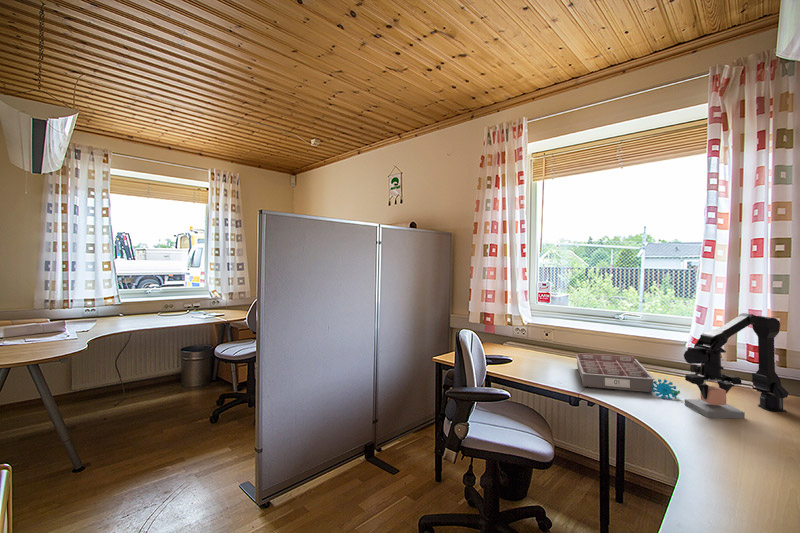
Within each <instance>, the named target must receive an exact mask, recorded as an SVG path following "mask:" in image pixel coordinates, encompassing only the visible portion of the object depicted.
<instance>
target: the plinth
mask: <svg viewBox="0 0 800 533" xmlns="http://www.w3.org/2000/svg"><path fill="white" fill-rule="evenodd" d="M684 405H685V406H686V407H687V408H690V409H691V410H693V411H695V412H697V413H698V414H699V415H702V416H703V417H705V418H706V419H745V413H746V412H745V411H743V410H740V409H739V408H737V407H735V406H733V405H730V404H728V403H726V405H710V404H708V403H707V402H705V401H703V400H701V398H700V399H694V398H693V399H692V398H691V399H690V398H688V399H687V398H685V399H684Z"/></svg>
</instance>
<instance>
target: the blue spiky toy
mask: <svg viewBox="0 0 800 533" xmlns="http://www.w3.org/2000/svg"><path fill="white" fill-rule="evenodd" d="M651 387H652V388H653V389H652V391H653V392H652V393H655V396H656V397H659V396H660V398H661V399H662V400H663V399H665V396H667V397H666V399H667V400H671V398H676V397H677V396H678V395H680V394H681V391H680V390H677V386H676V385H673V382H672V381H670V382H668V380H667V379H666V378H664V379H663V382H662V379H661V378H660V379H659V378H658V379H657V380H653V384H652V386H651ZM670 395H671V396H670Z"/></svg>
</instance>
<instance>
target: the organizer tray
mask: <svg viewBox="0 0 800 533" xmlns="http://www.w3.org/2000/svg"><path fill="white" fill-rule="evenodd" d="M575 358H576V365H577V370H578V373H580V374H579V377H580V376H581V377H580V380H581V383H582V386H583V387H587V386H588V387H590V388H600V389H609V390H611V389H612V390H613V389H614V390H620V391H621V390H623V391H633V392H634V391H635V392H645V393H654V392H653V391H652V389H654V388H652V387H651V386H652V384H653V385H654V383H653V382H654V381H656V378H654V377H653V375H652V374H651V373H650V372H649V371H648V370H647V369H646V368H645V367H644V366H643V365H642V363H640V362H639V361H638V359H636V358H635V356H633V355H618V354H617V355H616V354H603V353H588V352H587V353H584V352H578V353H577V355H575Z"/></svg>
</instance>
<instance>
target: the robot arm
mask: <svg viewBox="0 0 800 533" xmlns="http://www.w3.org/2000/svg"><path fill="white" fill-rule="evenodd" d="M751 325H752V326H751ZM749 326H751V327H752V330H753V332H754V334H756V336H757V346H758V347H757V352H758V359H757V360H758V368H757V369H758V370H757V371H756V372H752V374H751V382H752V384H753V386H754V388H755V390H756V392H758V393H760V397H759V404H757V406H758V407H760V408H763V409H765V410H767V411H769V412H787V409H785V408H784V399H786V398H788V396H789V392H788V390H787V389H786V388H784V386H782V382H781V378H780V377H779V375H778V374H777V373H776V365H775V364H776V363H775V362H776V359H775V358H776V356H775V338H776V337H777V335H779V333H780V329H781V323H780V320H778V318H775V317H772V316H771V317H770V316H763V315H755V314H752V313H740V314H738V315H737V317H735V318H733V319H732V320H729V321H728V322H727V323H725V324H724V325H722V326H720V327H718V328H716V329H711V330H707V331H705V332H703V333H701V334H700V337H699V338H698V340H697V341H696V342H695V344H694V345H693V347H691V346H690V347H687V350H685V351H684V353H683V359H684V360H685V362H686V363H687V364H690V365H689V370H690V372H691V373H686V375H685V376H684V379H685V381H687V382H689V383H691V384H693V385H696V386H697V387H698V389H699V391H700V394H701V393H702V396H703V398H704V399H707V394H708V386H709V385H708V384H706V382H716V383H717V384H718V387H719V388H721V389H723V390H726V395H727V394H728V392H729V391H730V390H731V389H732V388H733V387H735V385H738V386H739V385H741V386H742V379H741V378H740V377H739V376H736V375H734V374H731V373H730V374H727V373H726V374H725V373H724V374H722V370H724V366H722V353H723V354H724V353H727V351H726V350H725V349H724V348H723V347H724V346H725V344H727V343H728V341H729V338H731V337H733V336H734V335H736V334H737V333H738V332H741V331H742V330H744V329H745V328H747V327H749ZM698 364H700V366H698Z"/></svg>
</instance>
